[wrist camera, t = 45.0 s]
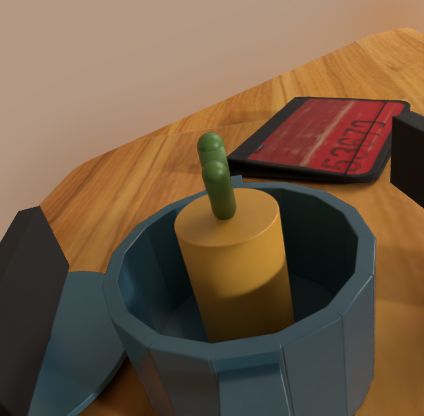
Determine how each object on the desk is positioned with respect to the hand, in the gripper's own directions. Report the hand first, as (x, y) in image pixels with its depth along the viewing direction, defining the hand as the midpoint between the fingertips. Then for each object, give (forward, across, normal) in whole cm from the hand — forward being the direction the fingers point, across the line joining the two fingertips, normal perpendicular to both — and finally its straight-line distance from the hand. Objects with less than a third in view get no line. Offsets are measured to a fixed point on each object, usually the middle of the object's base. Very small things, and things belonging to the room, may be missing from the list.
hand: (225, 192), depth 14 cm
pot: (+4, 0, -13) cm, 13 cm away
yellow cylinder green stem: (+4, 0, -12) cm, 13 cm away
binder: (+30, +16, -13) cm, 36 cm away
